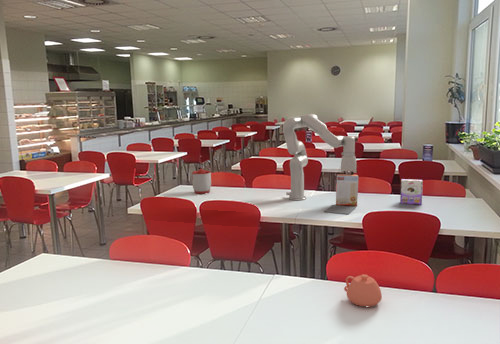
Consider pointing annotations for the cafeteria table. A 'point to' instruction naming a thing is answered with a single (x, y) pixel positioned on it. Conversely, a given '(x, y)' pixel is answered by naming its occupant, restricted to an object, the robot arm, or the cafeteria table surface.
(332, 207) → the mat
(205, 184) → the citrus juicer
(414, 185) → the candy box
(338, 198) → the cracker box
